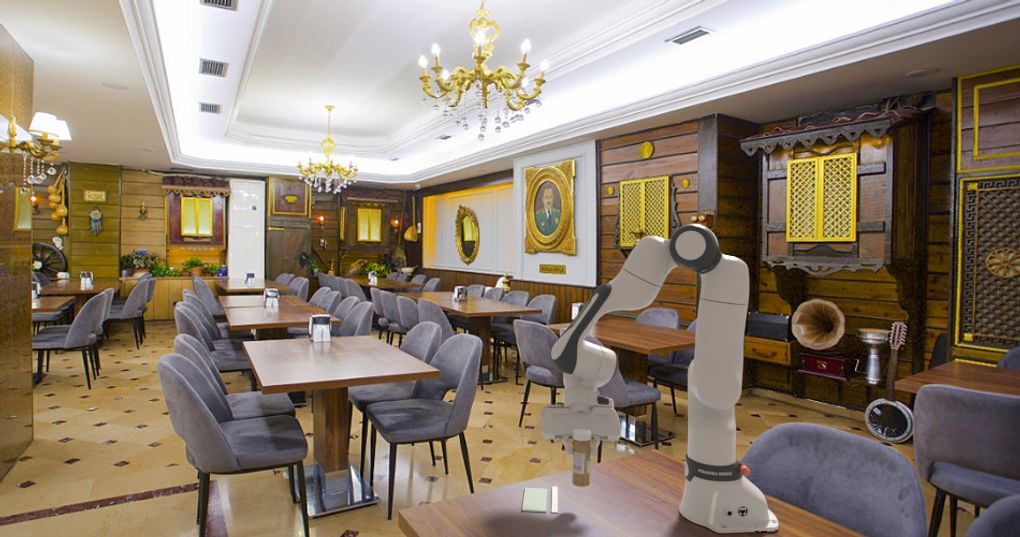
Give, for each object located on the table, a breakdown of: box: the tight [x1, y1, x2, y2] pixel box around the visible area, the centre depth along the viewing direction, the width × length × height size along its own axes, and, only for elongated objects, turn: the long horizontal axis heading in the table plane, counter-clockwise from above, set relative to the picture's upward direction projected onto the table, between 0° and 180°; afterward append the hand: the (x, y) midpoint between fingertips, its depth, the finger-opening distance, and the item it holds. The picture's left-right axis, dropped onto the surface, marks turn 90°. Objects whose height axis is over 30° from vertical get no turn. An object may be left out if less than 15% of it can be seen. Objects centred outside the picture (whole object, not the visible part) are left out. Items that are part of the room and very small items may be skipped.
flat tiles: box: [521, 485, 559, 514], centre depth 143 cm, size 9×15×1 cm, turn 175°
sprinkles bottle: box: [571, 429, 591, 488], centre depth 139 cm, size 5×5×13 cm
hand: (581, 454), depth 138 cm, fingers closed on sprinkles bottle, 4 cm apart
